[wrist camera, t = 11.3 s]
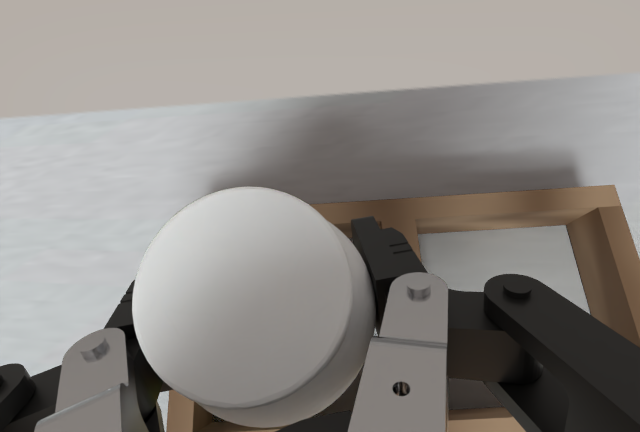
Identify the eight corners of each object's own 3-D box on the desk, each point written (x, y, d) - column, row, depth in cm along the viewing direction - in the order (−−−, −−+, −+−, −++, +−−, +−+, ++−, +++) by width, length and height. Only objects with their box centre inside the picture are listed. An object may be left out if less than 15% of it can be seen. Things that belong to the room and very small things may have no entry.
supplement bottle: (221, 391, 15) (48, 449, 6) (239, 258, 17) (127, 147, 8) (358, 401, 15) (394, 477, 6) (361, 264, 17) (393, 157, 8)
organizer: (580, 204, 19) (614, 184, 17) (646, 426, 16) (699, 438, 14) (200, 229, 20) (181, 212, 18) (188, 449, 17) (163, 465, 14)
